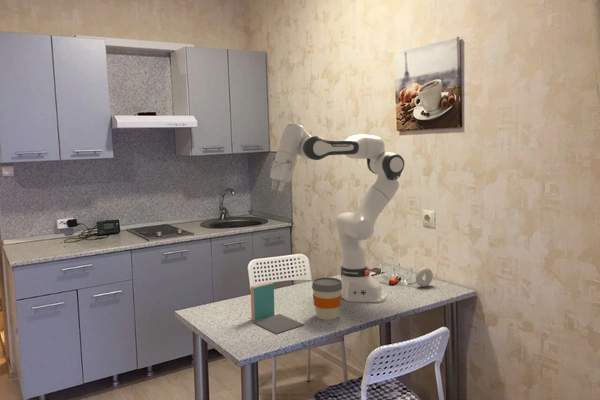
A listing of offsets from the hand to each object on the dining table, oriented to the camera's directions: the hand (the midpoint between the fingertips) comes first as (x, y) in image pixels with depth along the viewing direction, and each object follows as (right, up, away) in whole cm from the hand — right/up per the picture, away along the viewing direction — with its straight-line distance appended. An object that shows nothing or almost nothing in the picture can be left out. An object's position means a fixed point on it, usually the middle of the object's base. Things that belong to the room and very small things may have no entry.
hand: (276, 190), depth 218 cm
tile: (-5, -53, -8) cm, 54 cm away
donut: (+72, -48, +33) cm, 93 cm away
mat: (+1, -54, -16) cm, 57 cm away
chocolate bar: (+50, -45, +59) cm, 89 cm away
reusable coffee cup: (+22, -53, -7) cm, 58 cm away
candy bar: (+60, -47, +42) cm, 87 cm away
